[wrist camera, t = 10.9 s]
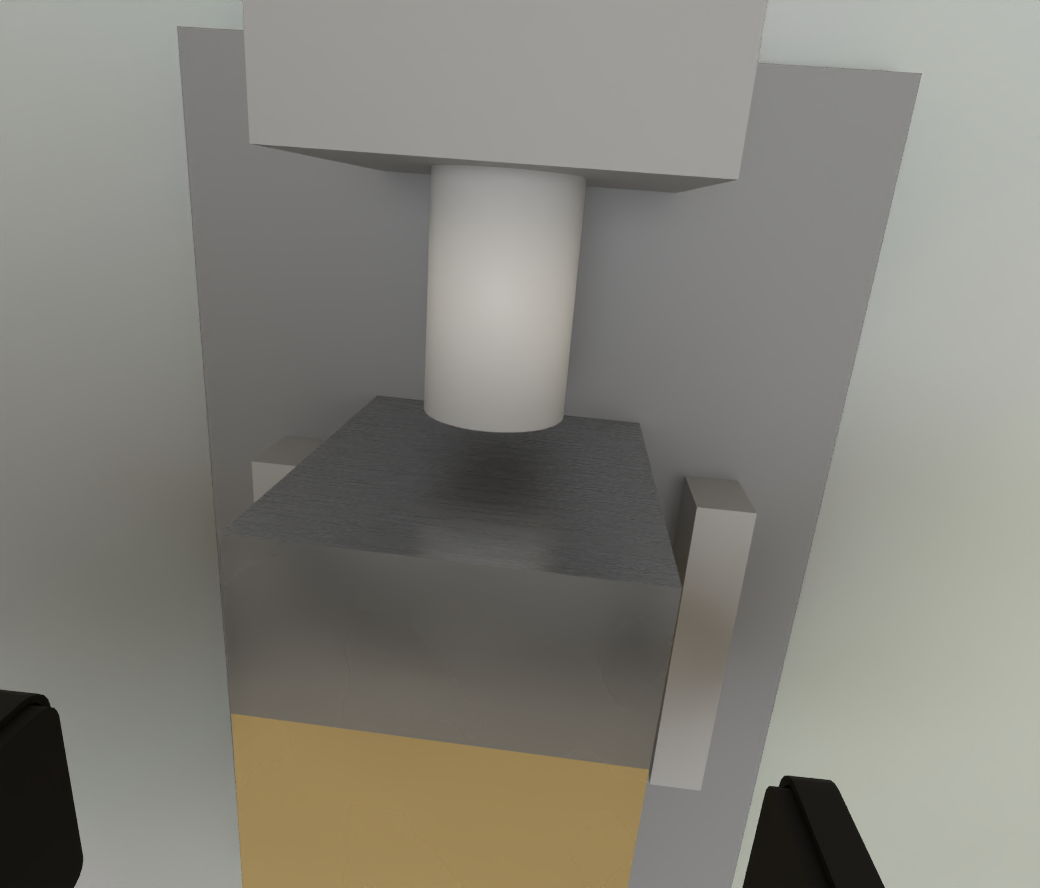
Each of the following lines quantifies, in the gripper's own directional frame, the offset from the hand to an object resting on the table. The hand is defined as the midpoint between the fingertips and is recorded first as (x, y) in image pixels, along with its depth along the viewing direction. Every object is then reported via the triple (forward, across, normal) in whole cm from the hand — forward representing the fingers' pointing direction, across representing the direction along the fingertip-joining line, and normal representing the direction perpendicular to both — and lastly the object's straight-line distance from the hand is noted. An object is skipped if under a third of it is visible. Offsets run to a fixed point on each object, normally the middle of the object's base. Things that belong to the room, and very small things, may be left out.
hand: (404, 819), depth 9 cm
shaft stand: (+7, -1, 0) cm, 7 cm away
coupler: (+6, -1, 0) cm, 6 cm away
